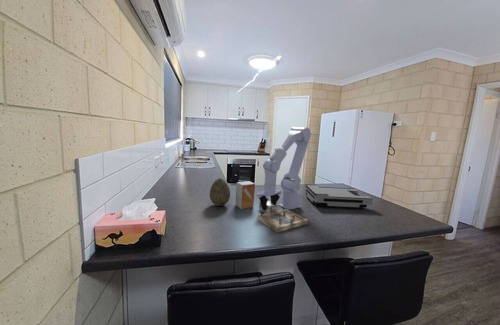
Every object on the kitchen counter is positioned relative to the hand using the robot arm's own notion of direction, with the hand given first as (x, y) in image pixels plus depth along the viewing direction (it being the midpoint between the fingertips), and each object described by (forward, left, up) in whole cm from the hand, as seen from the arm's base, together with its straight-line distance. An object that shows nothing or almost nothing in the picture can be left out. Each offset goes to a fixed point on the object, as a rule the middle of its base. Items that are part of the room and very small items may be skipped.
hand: (268, 209), depth 106 cm
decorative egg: (+19, -18, -2) cm, 26 cm away
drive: (0, 0, -1) cm, 1 cm away
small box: (+7, -12, -2) cm, 14 cm away
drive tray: (+1, +12, -1) cm, 12 cm away
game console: (-47, +6, -2) cm, 47 cm away
